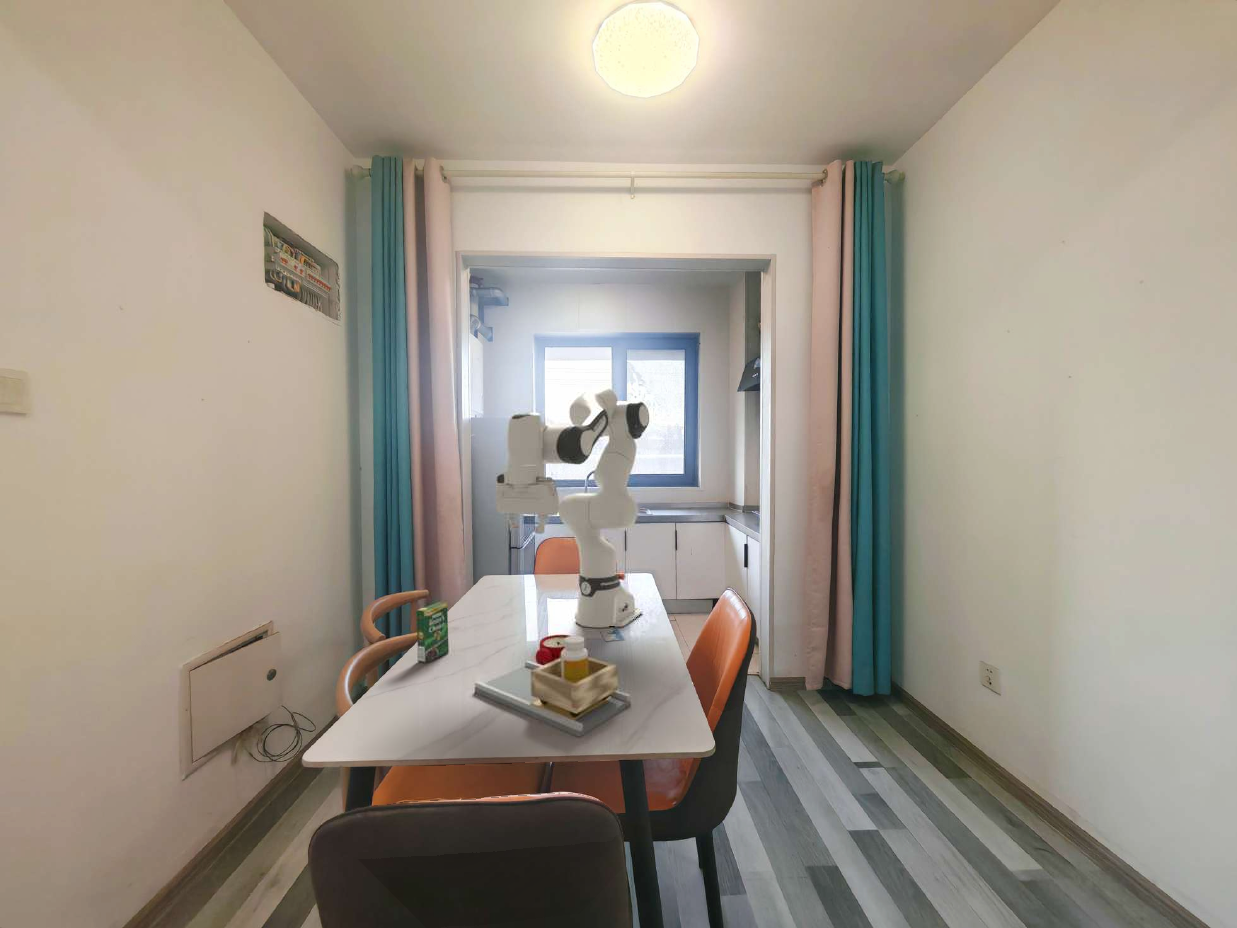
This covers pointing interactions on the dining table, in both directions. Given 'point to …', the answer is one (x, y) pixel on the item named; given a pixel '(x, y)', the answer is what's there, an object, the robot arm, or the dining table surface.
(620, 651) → the dining table surface
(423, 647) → the coffee box
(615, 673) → the open wooden crate
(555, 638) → the alarm clock
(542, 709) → the track board
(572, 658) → the supplement bottle
